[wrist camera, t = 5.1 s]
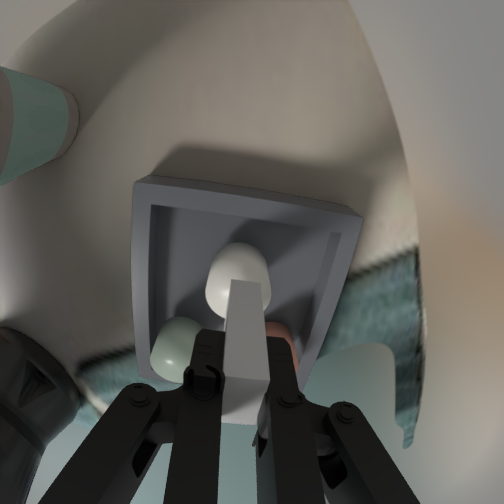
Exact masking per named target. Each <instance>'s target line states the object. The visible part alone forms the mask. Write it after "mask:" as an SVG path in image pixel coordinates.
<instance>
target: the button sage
mask: <svg viewBox="0 0 504 504" xmlns="http://www.w3.org/2000/svg"><path fill="white" fill-rule="evenodd" d="M202 328H203V327H202V326H201V325H200V324H199V323H198V322H196V321H195V320H193V319H190V318H187V317H172V318H169V319H167V320H166V321H165V322H164V323H163V324H162V326H161V328H160V331H159V333H158V336H157V339H156V342H155V344H154V347H153V350H152V353H151V356H150V364H151V366H152V368H153V370H154V371H155V372H156V373H157V374H158V375H159V376H161V377H162V378H164V379H166V380H169V381H172V382H176V383H183V373H184V371H185V369H186V367H188V366H189V365H190V360H191V356H192V351H193V346H194V341H195V337H196V334H197V333H198V332H199V331H200V330H201V329H202ZM203 329H204V328H203Z"/></svg>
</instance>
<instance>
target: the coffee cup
mask: <svg viewBox="0 0 504 504" xmlns="http://www.w3.org/2000/svg"><path fill="white" fill-rule="evenodd" d="M78 123H79V110H78V106H77V103H76V100H75V98H74V97H73V95H72V94H71V93H70V92H69V91H67V90H66V89H64V88H61V87H58V86H56V85H53V84H51V83H48V82H45V81H42V80H40V79H37V78H34V77H31V76H28V75H25V74H22V73H19V72H16V71H13V70H10V69H7V68H4V67H1V66H0V186H2V185H4V184H5V183H7V182H9V181H11V180H13V179H15V178H17V177H19V176H21V175H23V174H25V173H27V172H29V171H31V170H33V169H35V168H37V167H39V166H41V165H43V164H45V163H47V162H49V161H52V160H54V159H56V158H58V157H60V156H61V155H62V154H64V153H65V152H66V151H67V149H68V148H69V147H70V145H71V144H72V142H73V140H74V138H75V136H76V133H77V129H78Z"/></svg>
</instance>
